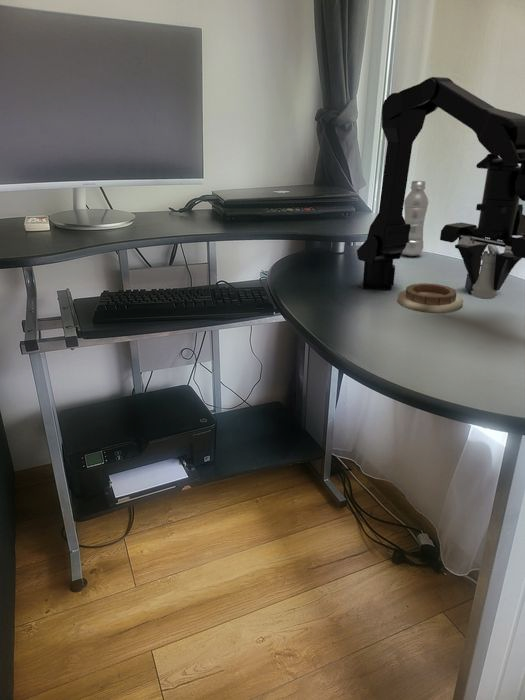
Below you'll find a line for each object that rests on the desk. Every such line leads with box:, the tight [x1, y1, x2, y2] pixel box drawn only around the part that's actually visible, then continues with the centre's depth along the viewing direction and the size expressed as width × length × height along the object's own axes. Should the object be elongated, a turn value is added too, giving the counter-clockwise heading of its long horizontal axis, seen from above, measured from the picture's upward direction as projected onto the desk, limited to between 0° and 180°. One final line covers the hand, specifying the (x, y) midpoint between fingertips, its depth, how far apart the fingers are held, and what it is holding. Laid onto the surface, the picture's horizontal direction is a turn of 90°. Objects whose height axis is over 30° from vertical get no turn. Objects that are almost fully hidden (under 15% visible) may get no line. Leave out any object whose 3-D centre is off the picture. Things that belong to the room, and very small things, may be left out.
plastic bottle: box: [401, 180, 429, 257], centre depth 141 cm, size 6×7×20 cm
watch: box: [463, 244, 500, 296], centre depth 112 cm, size 6×8×11 cm
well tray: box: [397, 282, 464, 314], centre depth 107 cm, size 13×13×3 cm
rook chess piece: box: [471, 250, 499, 300], centre depth 92 cm, size 4×4×8 cm
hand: (485, 286), depth 93 cm, fingers closed on rook chess piece, 4 cm apart
